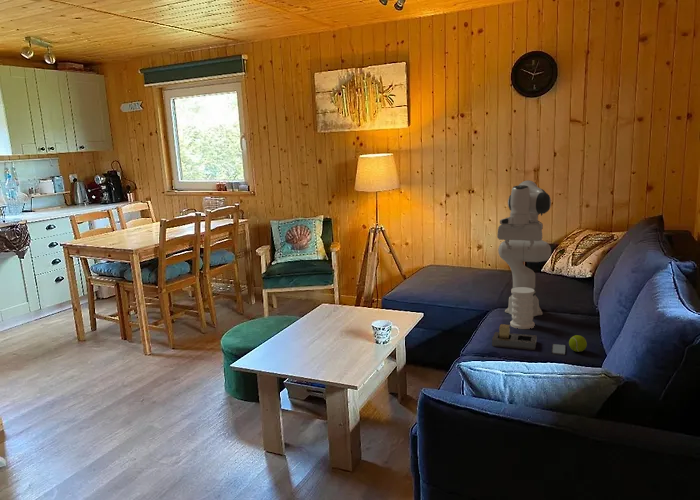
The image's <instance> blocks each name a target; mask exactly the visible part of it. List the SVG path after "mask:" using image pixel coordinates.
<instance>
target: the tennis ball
mask: <svg viewBox="0 0 700 500" xmlns="http://www.w3.org/2000/svg"><path fill="white" fill-rule="evenodd" d="M568 345H569V349H571V350H572V351H574V352H576V353H577V352H578V353H580V352H583V351H585V350H586V348H587V346H588V343H587V339H586V338H585V337H584V336H582V335H577V334H576V335H573V336H571V337H570V338H569V341H568Z"/></svg>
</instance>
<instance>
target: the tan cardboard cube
mask: <svg viewBox="0 0 700 500" xmlns="http://www.w3.org/2000/svg"><path fill="white" fill-rule="evenodd" d="M510 327H511V326H510V324H504V323H501V324H500V325H499V327H498V329H499V330H498V332H499V338H501V339H510V333H511V328H510Z"/></svg>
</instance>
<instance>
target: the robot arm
mask: <svg viewBox="0 0 700 500" xmlns="http://www.w3.org/2000/svg"><path fill="white" fill-rule="evenodd" d="M551 205H552V200H551V197H550V195H549V194H548V193H547V192H546V191H545V189H542V188H540V187H538V185H537V183H536V182H534V181H532V180H524V181H521V182H520V183H519V184H518V185H514V186H512V189H511V193H510V195H509V196H508V198H507V207H508V208H509V211H510V212H509V216H507V217H505V218H502V219H499V224H500V225H498V228H497V233H496V234H497V239H498V240H500V241H501V240H502V241H501V242H500V244H499V246H498V250H497V251H498V255H499V257H500V258H501V259H502V260H503V261H504V262H505V263H506V264H507V265H508V267H509V268H510V270H511V274H512V286H511V289H512V288H516V287H527V288H532V289H534V290H535V293H534V294H533V297H534V299H533V304H534V305H533V317H536V316H542V315H544V314H543V311H542V309H541V307H540V305H539V303H540V302H539V301H540V300H539V298H538V297H537V296H536V295H537V288H536V273H535V272H534V270H533V269H531V268H529V267H527V266H526V265H525V264H524V262H526V263H528V262H529V263H539V262H540V263H541V262H547V261H548V260H549V259H550V257H551V256H552V248H551V245H550V244H549V243H548V242H547V241H544V240H543V228H544V226H543V223H542V222H541V221H540V220H539V215H540V216H543V214H547V212H549V210H550V209H551ZM512 296H513V294H512V293H511V295H509V297H508V307H507V308H505V310H504V313H507V314H509V315H511V316H512V307H513V306H512V302H513V300H512Z"/></svg>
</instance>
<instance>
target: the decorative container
mask: <svg viewBox="0 0 700 500" xmlns="http://www.w3.org/2000/svg"><path fill="white" fill-rule="evenodd" d="M510 291H511V295H512V294H513V296H512V300H513V302H512V306H513V307H512V315H511V321H510V322H509V323H510V324H509V325H510V327H512V328H514V329H517V328H518V330H531V329H533V328H535V327H536V325H535V323H536V322H534V316H533V305H534V304H533V299H534V297H533V294H534V293H535V290H534V289H532V288H527V287H516V288H512V287H511V289H510ZM534 326H535V327H534ZM530 328H531V329H530Z"/></svg>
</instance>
